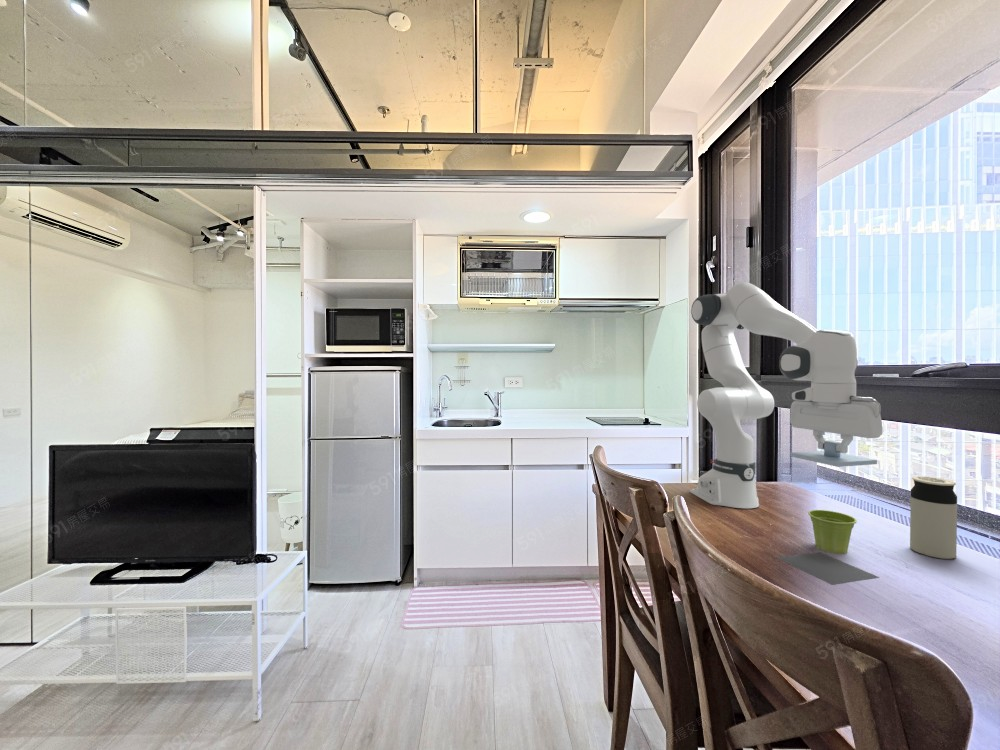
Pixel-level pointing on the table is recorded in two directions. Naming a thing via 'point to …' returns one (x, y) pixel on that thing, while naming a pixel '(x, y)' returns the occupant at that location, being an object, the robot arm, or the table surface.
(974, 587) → the table surface
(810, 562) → the mat
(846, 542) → the plant pot
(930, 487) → the travel mug
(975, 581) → the table surface
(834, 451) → the lid
